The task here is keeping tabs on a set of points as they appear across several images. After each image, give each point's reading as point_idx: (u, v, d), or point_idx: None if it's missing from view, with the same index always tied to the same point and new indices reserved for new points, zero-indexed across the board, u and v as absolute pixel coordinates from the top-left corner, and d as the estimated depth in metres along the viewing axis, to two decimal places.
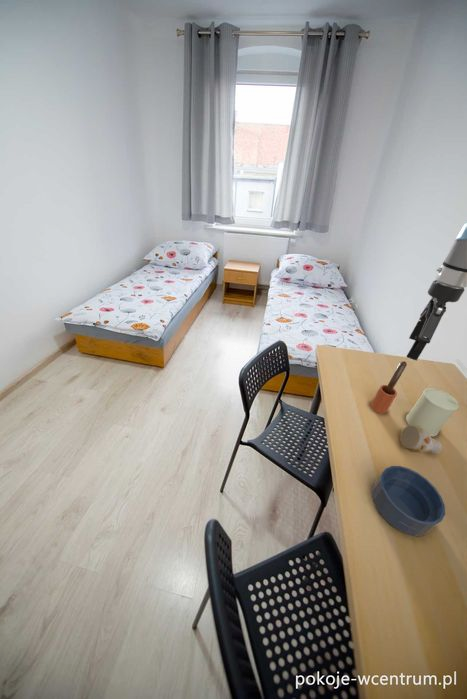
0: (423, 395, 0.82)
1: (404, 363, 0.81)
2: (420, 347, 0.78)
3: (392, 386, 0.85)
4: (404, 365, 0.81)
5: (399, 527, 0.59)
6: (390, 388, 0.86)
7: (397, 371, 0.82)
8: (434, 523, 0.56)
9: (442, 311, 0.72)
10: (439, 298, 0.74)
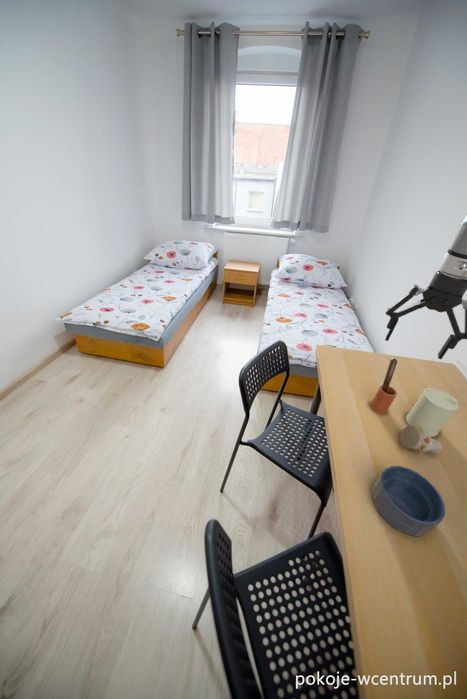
0: (423, 395, 0.82)
1: (394, 360, 0.82)
2: None
3: (387, 384, 0.86)
4: (394, 362, 0.82)
5: (399, 527, 0.59)
6: (386, 386, 0.86)
7: (389, 369, 0.83)
8: (434, 523, 0.56)
9: None
10: None
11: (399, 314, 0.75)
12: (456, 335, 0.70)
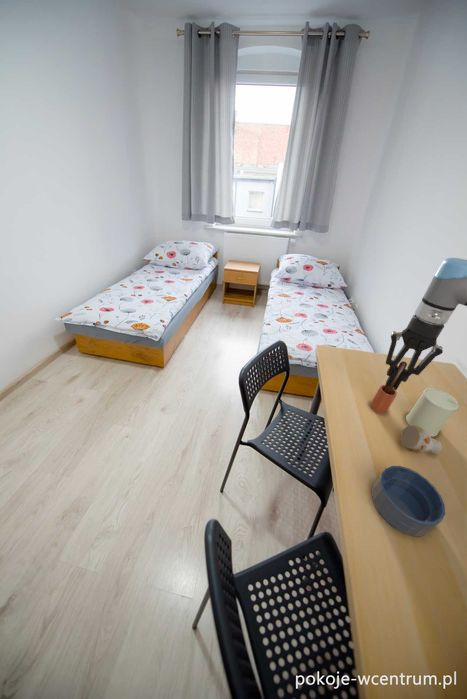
0: (423, 395, 0.82)
1: (404, 363, 0.81)
2: None
3: (392, 386, 0.85)
4: (404, 365, 0.81)
5: (399, 527, 0.59)
6: (390, 388, 0.86)
7: (397, 371, 0.82)
8: (434, 523, 0.56)
9: None
10: None
11: (395, 362, 0.81)
12: (408, 370, 0.80)
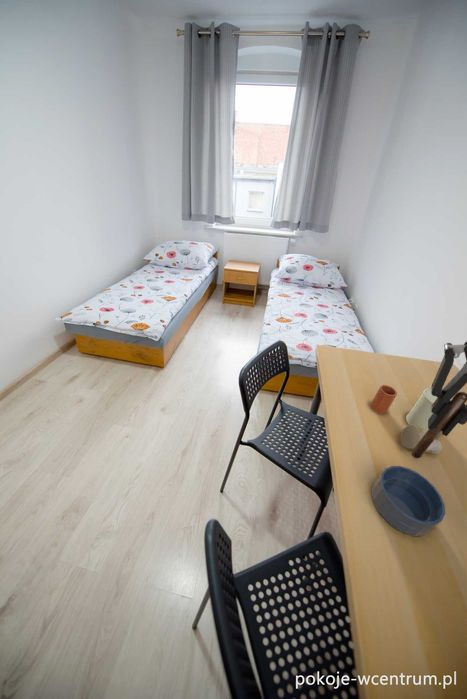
0: (423, 395, 0.82)
1: (464, 395, 0.49)
2: None
3: (440, 429, 0.53)
4: (464, 399, 0.49)
5: (399, 527, 0.59)
6: (436, 432, 0.54)
7: (451, 407, 0.51)
8: (434, 523, 0.56)
9: None
10: None
11: (449, 394, 0.49)
12: None
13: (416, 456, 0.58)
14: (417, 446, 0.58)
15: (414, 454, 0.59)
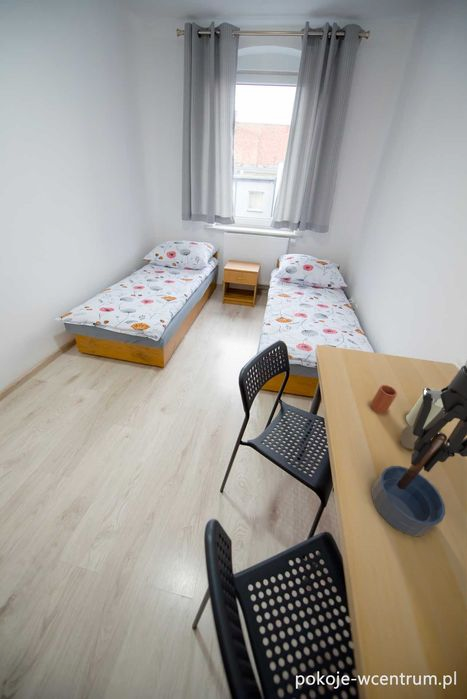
0: None
1: (443, 437, 0.52)
2: None
3: (422, 465, 0.56)
4: (443, 440, 0.52)
5: (399, 527, 0.59)
6: (419, 468, 0.57)
7: (431, 446, 0.54)
8: (434, 523, 0.56)
9: None
10: None
11: (429, 435, 0.52)
12: (450, 448, 0.51)
13: (401, 488, 0.61)
14: (402, 479, 0.61)
15: (399, 485, 0.62)
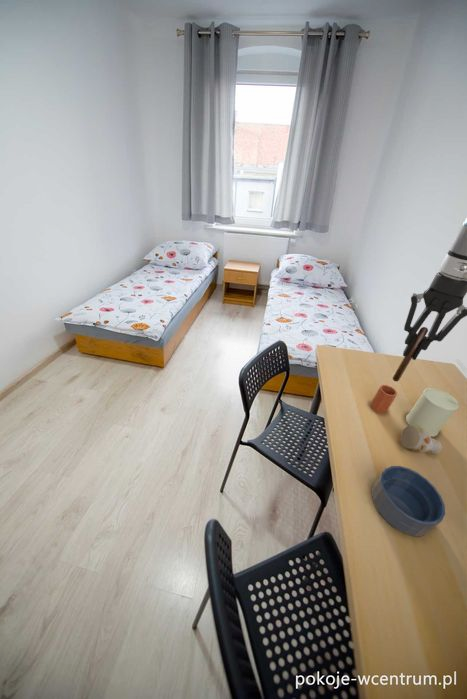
0: (423, 395, 0.82)
1: (425, 329, 0.73)
2: None
3: (411, 356, 0.78)
4: (425, 331, 0.73)
5: (399, 527, 0.59)
6: (408, 358, 0.78)
7: (417, 338, 0.75)
8: (434, 523, 0.56)
9: None
10: (465, 294, 0.65)
11: (415, 328, 0.74)
12: (430, 336, 0.73)
13: (396, 379, 0.83)
14: (396, 372, 0.82)
15: (394, 378, 0.83)
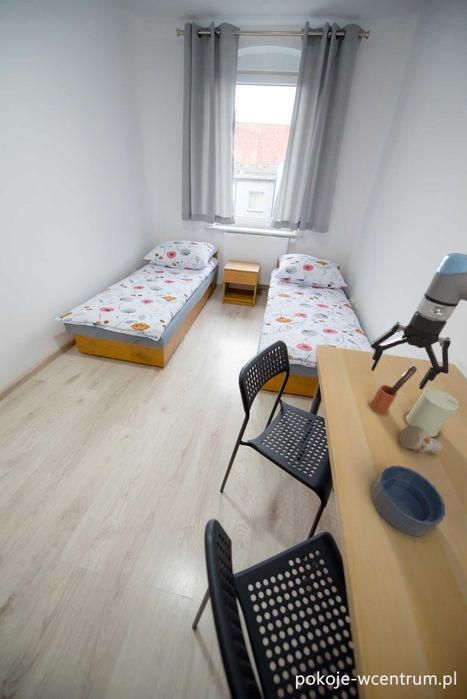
0: (423, 395, 0.82)
1: (414, 368, 0.79)
2: None
3: (397, 389, 0.85)
4: (414, 370, 0.79)
5: (399, 527, 0.59)
6: (394, 391, 0.85)
7: (405, 375, 0.81)
8: (434, 523, 0.56)
9: None
10: (440, 332, 0.72)
11: (383, 348, 0.81)
12: (434, 369, 0.76)
13: None
14: None
15: None
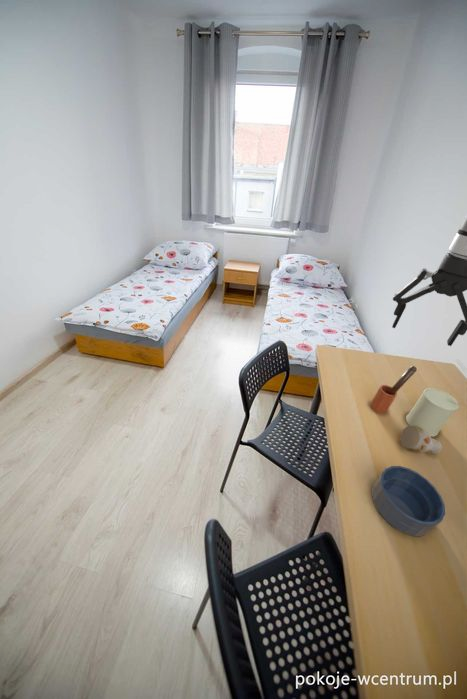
0: (423, 395, 0.82)
1: (414, 368, 0.79)
2: None
3: (397, 389, 0.85)
4: (414, 370, 0.79)
5: (399, 527, 0.59)
6: (394, 391, 0.85)
7: (405, 375, 0.81)
8: (434, 523, 0.56)
9: None
10: None
11: (407, 299, 0.73)
12: None
13: None
14: None
15: None
